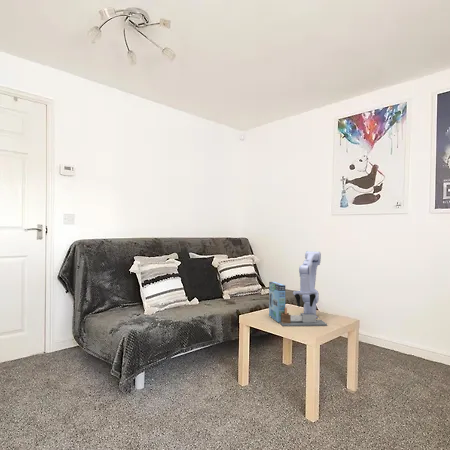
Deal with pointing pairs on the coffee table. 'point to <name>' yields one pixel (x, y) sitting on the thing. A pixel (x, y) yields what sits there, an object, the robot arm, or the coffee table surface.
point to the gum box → (276, 300)
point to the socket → (285, 318)
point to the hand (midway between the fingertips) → (304, 306)
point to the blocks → (293, 316)
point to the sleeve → (308, 317)
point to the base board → (299, 323)
